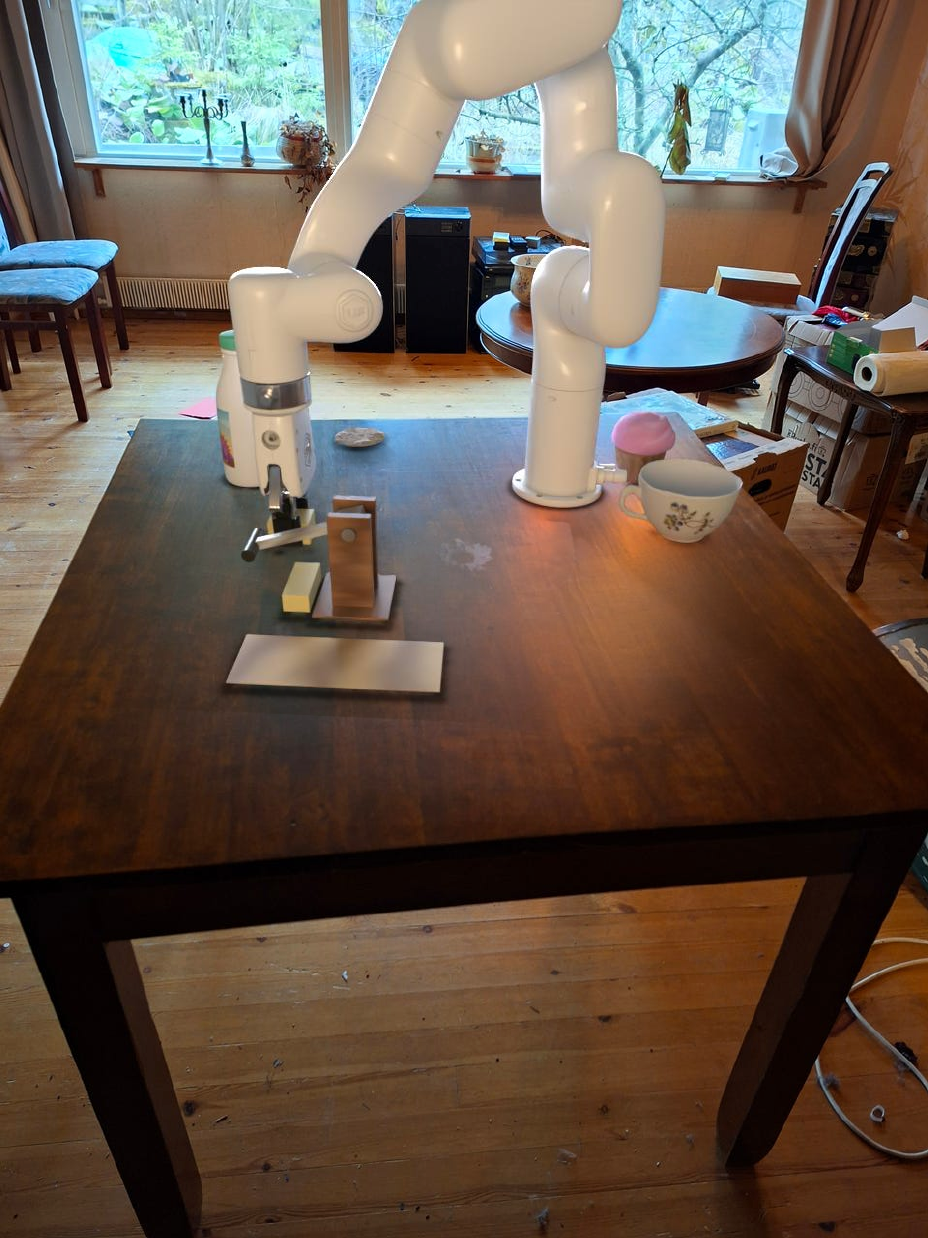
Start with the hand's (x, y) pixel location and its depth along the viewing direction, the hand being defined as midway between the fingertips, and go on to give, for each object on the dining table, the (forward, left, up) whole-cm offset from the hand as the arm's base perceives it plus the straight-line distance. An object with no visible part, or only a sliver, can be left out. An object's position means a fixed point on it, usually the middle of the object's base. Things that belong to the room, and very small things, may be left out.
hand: (293, 535), depth 102 cm
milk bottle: (+9, -19, -1) cm, 21 cm away
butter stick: (-4, +13, -1) cm, 14 cm away
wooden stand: (-10, +13, -1) cm, 16 cm away
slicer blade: (-5, +13, +6) cm, 16 cm away
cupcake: (-46, -24, -1) cm, 51 cm away
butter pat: (0, 0, 0) cm, 0 cm away
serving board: (-10, +25, -1) cm, 27 cm away
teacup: (-48, -7, -1) cm, 48 cm away
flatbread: (-4, -34, -1) cm, 34 cm away
